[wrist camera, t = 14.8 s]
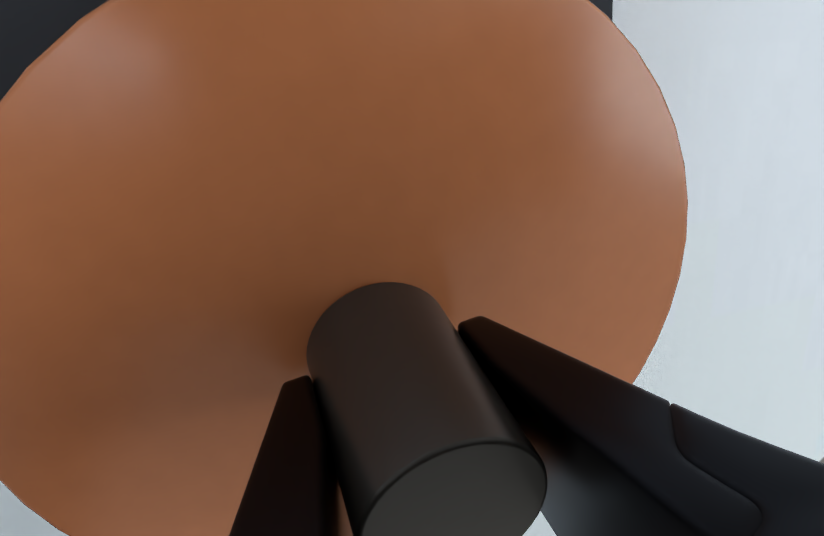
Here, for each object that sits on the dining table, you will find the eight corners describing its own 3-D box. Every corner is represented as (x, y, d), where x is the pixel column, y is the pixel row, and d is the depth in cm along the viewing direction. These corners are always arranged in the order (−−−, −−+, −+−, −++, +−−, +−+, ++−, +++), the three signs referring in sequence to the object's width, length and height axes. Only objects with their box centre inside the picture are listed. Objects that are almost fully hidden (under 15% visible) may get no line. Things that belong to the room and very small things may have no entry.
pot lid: (154, 639, 12) (141, 900, 9) (-325, 48, 6) (-1006, 204, 2) (650, 438, 14) (786, 589, 11) (703, -155, 8) (1065, -215, 5)
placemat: (123, 537, 22) (122, 545, 21) (-565, -398, 9) (-588, -409, 8) (600, 361, 25) (604, 365, 25) (615, -490, 12) (624, -499, 12)
